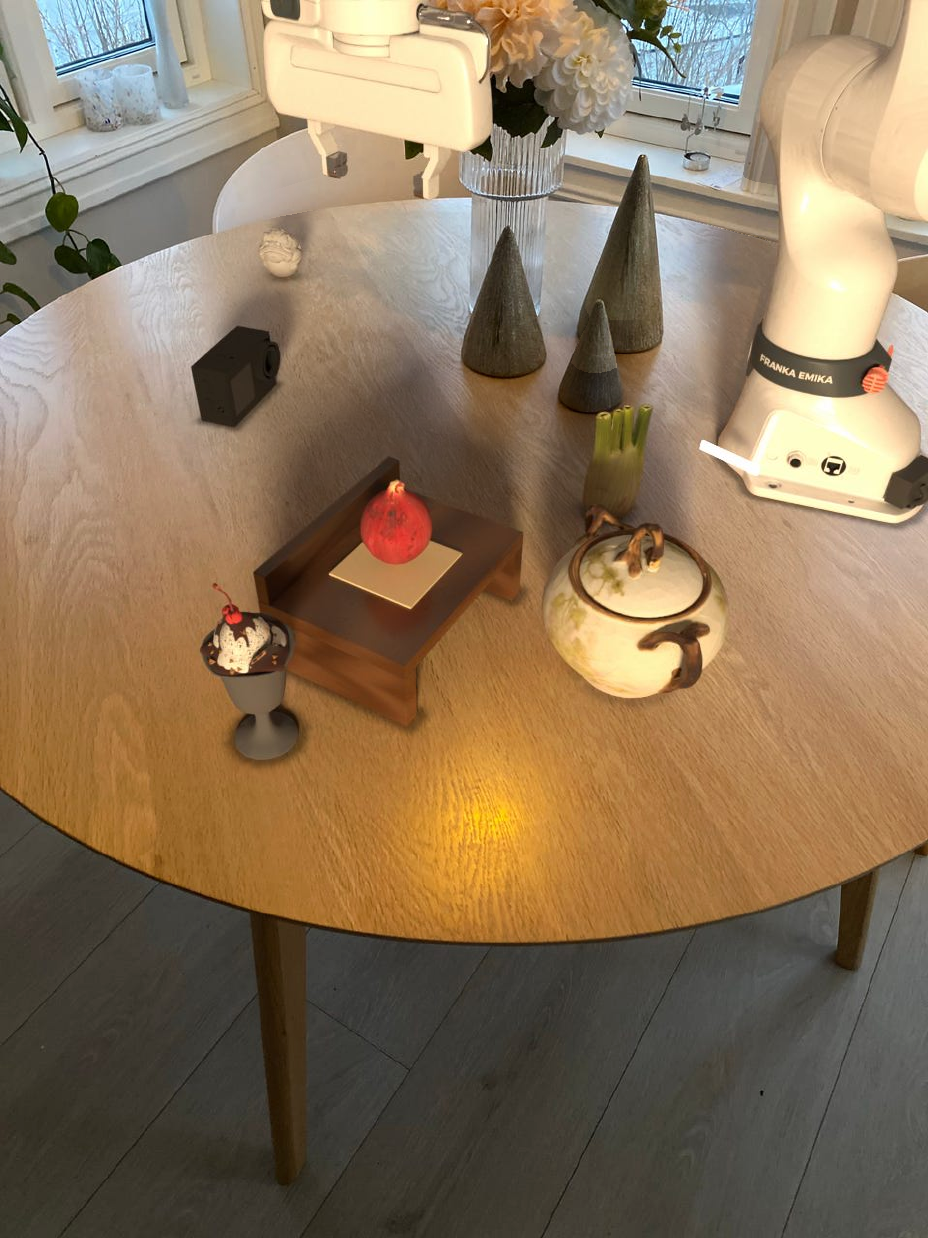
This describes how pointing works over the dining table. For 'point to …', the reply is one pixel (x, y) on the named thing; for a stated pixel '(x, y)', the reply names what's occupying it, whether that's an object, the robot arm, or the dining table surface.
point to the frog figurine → (280, 252)
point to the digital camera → (235, 375)
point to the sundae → (254, 677)
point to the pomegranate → (396, 525)
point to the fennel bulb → (617, 460)
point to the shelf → (381, 595)
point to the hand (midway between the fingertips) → (380, 185)
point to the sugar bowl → (634, 608)
